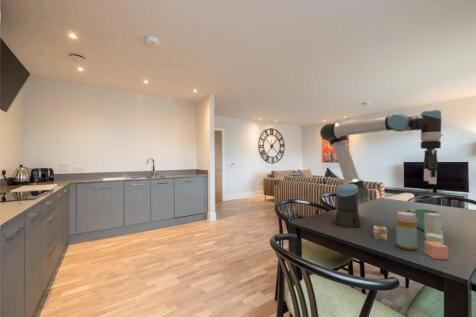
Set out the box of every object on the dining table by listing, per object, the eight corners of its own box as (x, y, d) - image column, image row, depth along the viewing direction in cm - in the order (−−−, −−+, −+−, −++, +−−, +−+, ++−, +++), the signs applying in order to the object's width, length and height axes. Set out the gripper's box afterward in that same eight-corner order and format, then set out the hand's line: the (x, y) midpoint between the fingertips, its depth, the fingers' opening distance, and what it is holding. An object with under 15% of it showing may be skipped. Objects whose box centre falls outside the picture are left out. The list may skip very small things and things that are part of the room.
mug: (443, 231, 110) (443, 212, 110) (432, 234, 107) (432, 214, 107) (412, 223, 124) (412, 206, 124) (401, 225, 121) (401, 208, 121)
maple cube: (374, 238, 103) (374, 228, 103) (373, 235, 107) (373, 225, 107) (387, 240, 100) (387, 229, 100) (385, 236, 105) (385, 226, 105)
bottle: (392, 244, 95) (392, 211, 95) (407, 243, 96) (406, 211, 96) (406, 251, 88) (405, 215, 88) (421, 250, 89) (420, 215, 89)
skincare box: (434, 241, 98) (433, 215, 98) (423, 237, 102) (423, 213, 102) (444, 239, 99) (443, 214, 99) (433, 236, 104) (433, 212, 104)
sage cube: (425, 246, 93) (425, 235, 93) (428, 243, 96) (428, 232, 96) (441, 250, 89) (441, 238, 89) (443, 246, 92) (443, 235, 92)
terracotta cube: (433, 258, 82) (432, 246, 82) (424, 253, 87) (424, 241, 87) (448, 259, 81) (448, 247, 81) (438, 254, 86) (438, 241, 86)
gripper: (447, 139, 94) (446, 185, 94) (435, 141, 115) (434, 180, 115) (425, 139, 98) (424, 184, 99) (417, 142, 119) (416, 179, 119)
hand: (429, 182), depth 107 cm, fingers open, 13 cm apart
